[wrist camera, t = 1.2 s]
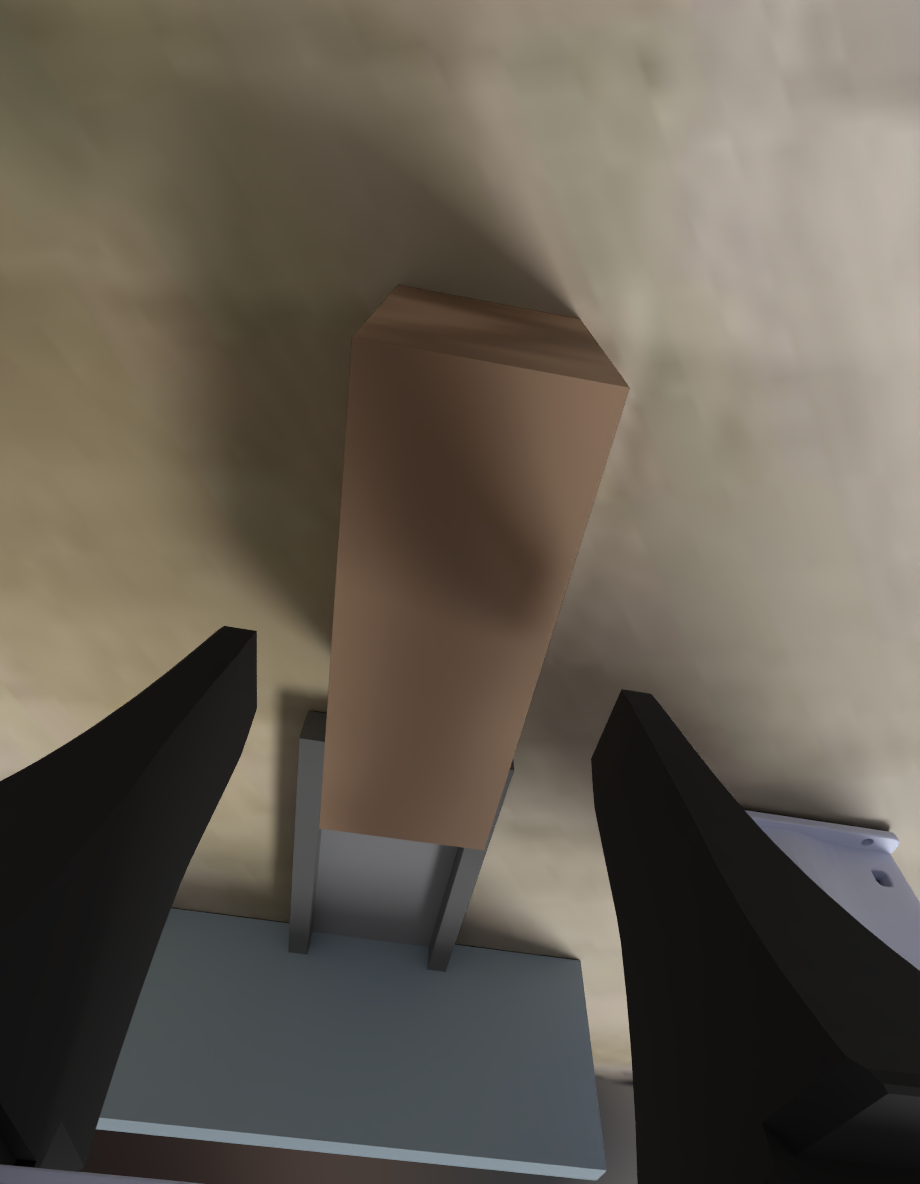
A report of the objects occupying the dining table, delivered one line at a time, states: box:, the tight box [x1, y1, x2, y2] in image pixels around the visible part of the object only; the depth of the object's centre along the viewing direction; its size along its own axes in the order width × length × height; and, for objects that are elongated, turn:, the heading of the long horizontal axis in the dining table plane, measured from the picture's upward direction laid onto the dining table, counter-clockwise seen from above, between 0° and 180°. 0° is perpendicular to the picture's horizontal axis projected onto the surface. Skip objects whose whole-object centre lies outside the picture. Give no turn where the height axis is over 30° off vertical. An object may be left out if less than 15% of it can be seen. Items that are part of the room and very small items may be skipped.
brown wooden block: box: [319, 285, 630, 850], centre depth 18 cm, size 5×14×7 cm, turn 171°
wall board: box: [96, 711, 606, 1180], centre depth 27 cm, size 24×18×9 cm
